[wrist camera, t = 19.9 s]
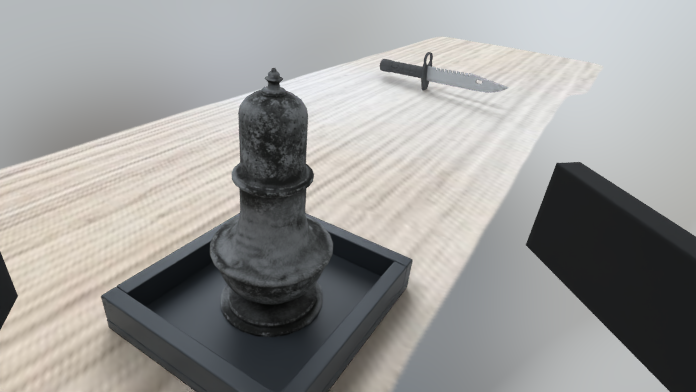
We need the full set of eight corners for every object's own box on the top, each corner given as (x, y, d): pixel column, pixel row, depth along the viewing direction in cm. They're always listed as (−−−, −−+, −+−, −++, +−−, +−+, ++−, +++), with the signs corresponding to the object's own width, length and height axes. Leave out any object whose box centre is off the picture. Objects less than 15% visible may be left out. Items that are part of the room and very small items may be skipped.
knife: (508, 104, 56) (517, 65, 54) (501, 108, 54) (510, 68, 52) (385, 78, 66) (388, 44, 64) (376, 80, 64) (379, 45, 62)
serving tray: (280, 454, 17) (281, 421, 16) (108, 327, 21) (99, 295, 20) (407, 287, 25) (413, 259, 24) (267, 222, 30) (267, 196, 29)
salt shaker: (194, 330, 21) (162, 77, 14) (238, 254, 26) (228, 43, 19) (316, 352, 20) (336, 101, 14) (336, 270, 25) (358, 60, 19)
